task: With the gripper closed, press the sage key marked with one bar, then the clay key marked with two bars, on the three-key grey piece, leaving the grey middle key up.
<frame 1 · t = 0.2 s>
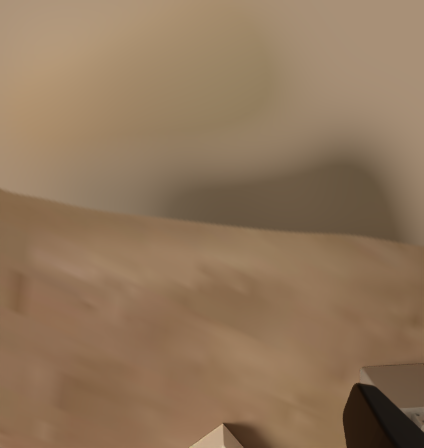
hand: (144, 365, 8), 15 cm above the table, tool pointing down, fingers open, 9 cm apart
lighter: (367, 377, 25), on the table
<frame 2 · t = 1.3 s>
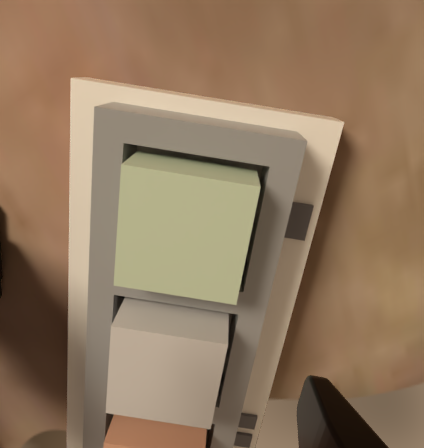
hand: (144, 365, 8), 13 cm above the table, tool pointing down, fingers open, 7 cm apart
sage key: (186, 226, 16), point 5 cm above the table, slide at 0.0 cm
grey piece: (181, 302, 23), on the table
grey key: (168, 361, 18), point 5 cm above the table, slide at 0.0 cm
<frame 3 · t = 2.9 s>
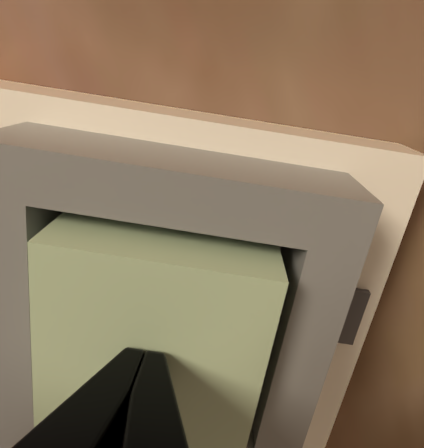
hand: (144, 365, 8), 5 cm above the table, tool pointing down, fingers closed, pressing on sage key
sage key: (157, 328, 9), point 4 cm above the table, slide at 1.0 cm, touching gripper
grey piece: (159, 407, 16), on the table
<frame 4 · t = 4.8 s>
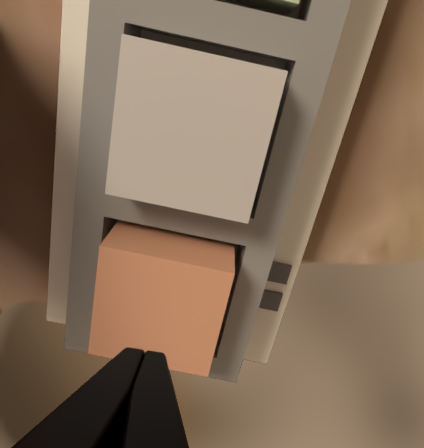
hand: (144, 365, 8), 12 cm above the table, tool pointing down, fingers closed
grey piece: (203, 115, 18), on the table
grey key: (193, 130, 13), point 5 cm above the table, slide at 0.0 cm
clay key: (162, 298, 16), point 5 cm above the table, slide at 0.0 cm
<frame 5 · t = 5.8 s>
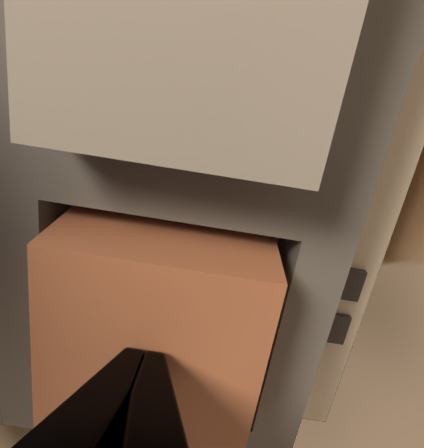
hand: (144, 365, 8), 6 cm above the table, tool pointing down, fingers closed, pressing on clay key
grey piece: (209, 32, 11), on the table
grey key: (192, 4, 6), point 5 cm above the table, slide at 0.0 cm
clay key: (157, 330, 9), point 5 cm above the table, slide at 0.4 cm, touching gripper
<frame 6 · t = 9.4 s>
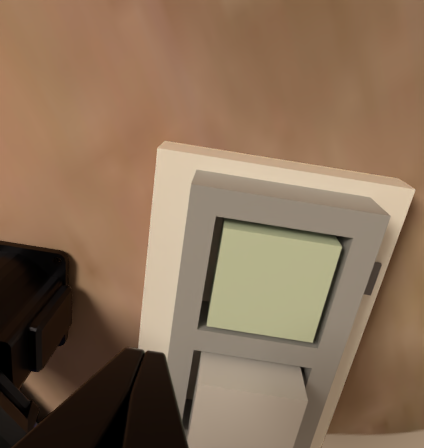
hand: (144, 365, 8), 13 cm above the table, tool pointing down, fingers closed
sage key: (268, 274, 18), point 3 cm above the table, slide at 1.5 cm
grey piece: (240, 345, 24), on the table
grey key: (242, 410, 19), point 5 cm above the table, slide at 0.0 cm
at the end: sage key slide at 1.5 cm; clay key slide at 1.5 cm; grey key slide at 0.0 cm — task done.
